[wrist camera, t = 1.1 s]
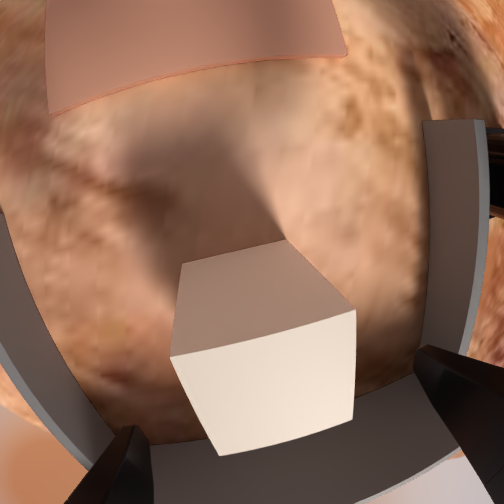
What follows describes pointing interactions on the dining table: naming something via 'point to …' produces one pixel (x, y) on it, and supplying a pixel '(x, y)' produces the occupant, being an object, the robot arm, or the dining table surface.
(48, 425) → the open u-shaped enclosure
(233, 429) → the ivory block
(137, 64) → the terracotta mat
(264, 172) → the dining table surface
